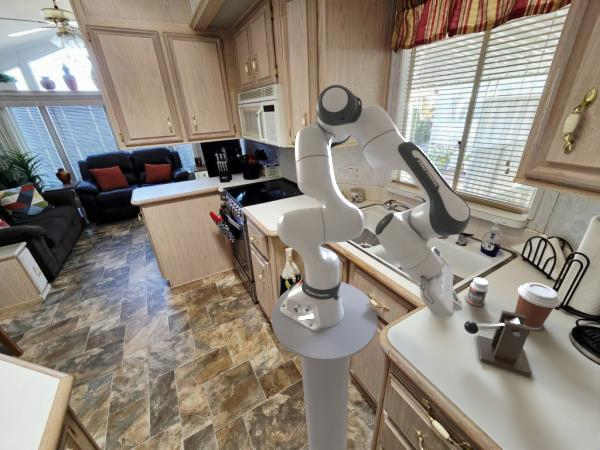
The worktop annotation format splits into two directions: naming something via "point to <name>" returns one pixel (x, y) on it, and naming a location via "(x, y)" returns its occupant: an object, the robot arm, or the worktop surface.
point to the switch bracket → (506, 346)
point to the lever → (488, 325)
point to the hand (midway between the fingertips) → (459, 307)
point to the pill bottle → (477, 291)
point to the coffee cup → (536, 303)
